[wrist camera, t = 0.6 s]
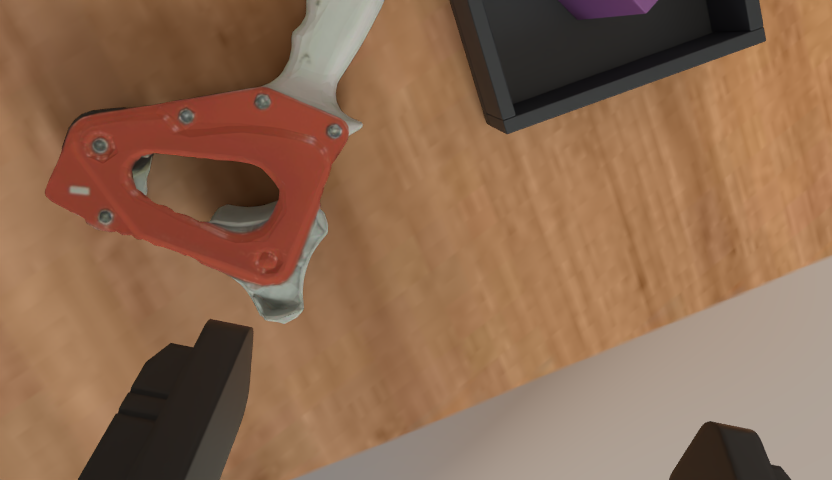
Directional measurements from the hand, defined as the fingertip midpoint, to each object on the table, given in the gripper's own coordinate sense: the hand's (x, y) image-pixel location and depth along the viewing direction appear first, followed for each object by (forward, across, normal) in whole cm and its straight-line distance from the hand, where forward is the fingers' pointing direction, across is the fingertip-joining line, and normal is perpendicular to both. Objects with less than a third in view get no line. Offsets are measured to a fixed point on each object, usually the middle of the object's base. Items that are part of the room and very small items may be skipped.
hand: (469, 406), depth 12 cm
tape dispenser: (+24, +9, +8) cm, 27 cm away
